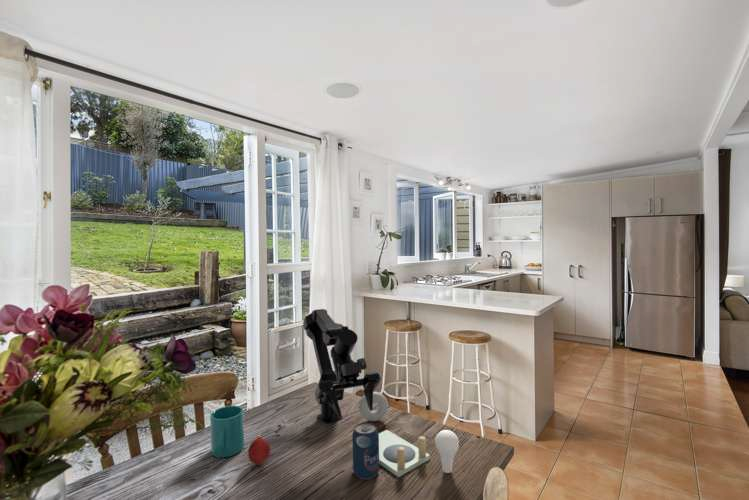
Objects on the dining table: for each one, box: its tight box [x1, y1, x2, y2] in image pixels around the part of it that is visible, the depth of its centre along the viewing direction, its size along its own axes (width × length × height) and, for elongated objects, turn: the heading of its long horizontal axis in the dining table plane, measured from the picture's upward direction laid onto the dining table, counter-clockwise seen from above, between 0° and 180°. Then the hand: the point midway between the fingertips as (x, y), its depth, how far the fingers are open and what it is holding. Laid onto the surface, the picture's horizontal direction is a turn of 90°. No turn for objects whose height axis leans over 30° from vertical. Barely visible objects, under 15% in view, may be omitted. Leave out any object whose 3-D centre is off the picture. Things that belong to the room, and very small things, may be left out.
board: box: [378, 429, 431, 478], centre depth 106 cm, size 18×12×6 cm, turn 39°
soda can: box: [352, 421, 380, 480], centre depth 98 cm, size 7×7×12 cm
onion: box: [247, 435, 271, 466], centre depth 102 cm, size 6×6×8 cm
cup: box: [209, 405, 245, 459], centre depth 108 cm, size 9×12×11 cm
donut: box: [358, 391, 389, 423], centre depth 125 cm, size 10×4×10 cm, turn 93°
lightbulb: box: [434, 429, 460, 474], centre depth 97 cm, size 6×6×11 cm
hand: (356, 413), depth 104 cm, fingers open, 9 cm apart
